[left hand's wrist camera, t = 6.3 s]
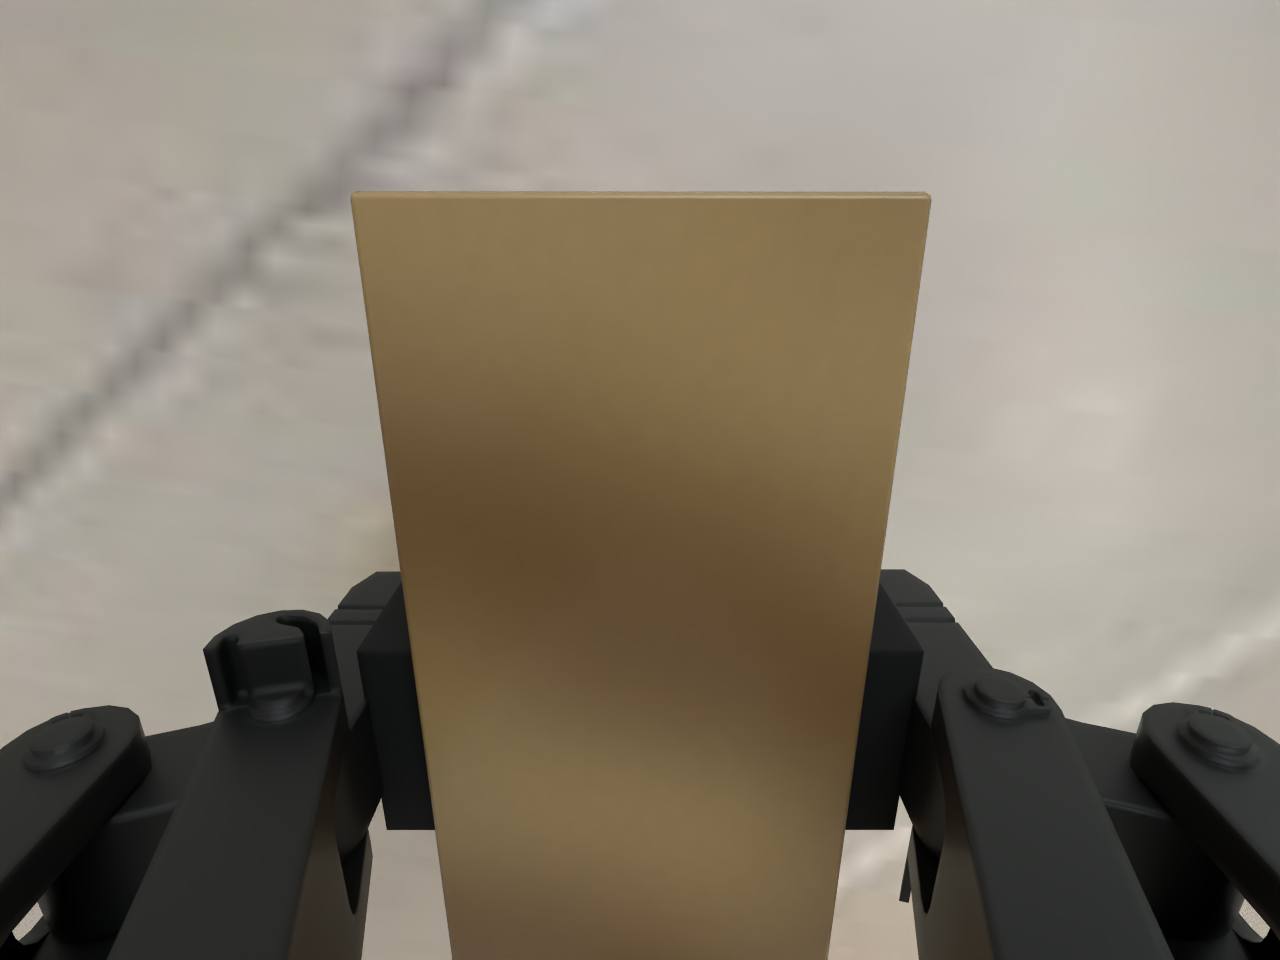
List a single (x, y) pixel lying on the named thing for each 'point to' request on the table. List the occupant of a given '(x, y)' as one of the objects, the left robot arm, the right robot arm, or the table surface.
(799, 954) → the bar
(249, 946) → the left robot arm
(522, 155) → the table surface
